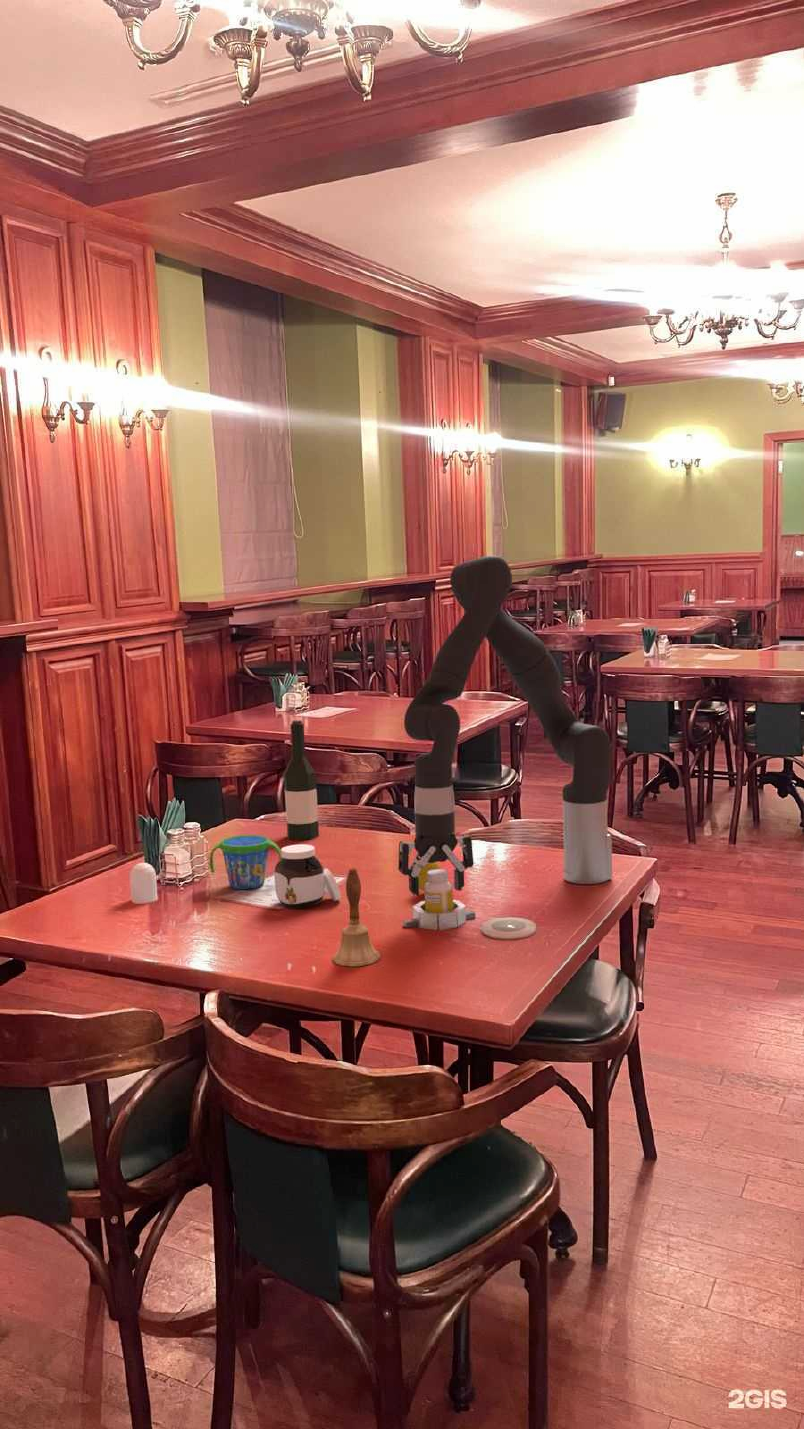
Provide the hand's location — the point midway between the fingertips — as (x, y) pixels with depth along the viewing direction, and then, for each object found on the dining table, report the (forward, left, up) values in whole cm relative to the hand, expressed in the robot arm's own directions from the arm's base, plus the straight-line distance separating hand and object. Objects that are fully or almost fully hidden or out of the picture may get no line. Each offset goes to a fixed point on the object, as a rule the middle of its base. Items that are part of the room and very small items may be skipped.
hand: (436, 892), depth 211 cm
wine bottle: (+9, -80, -6) cm, 81 cm away
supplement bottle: (0, 0, -6) cm, 6 cm away
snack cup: (+30, -41, -6) cm, 51 cm away
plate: (-10, +10, -6) cm, 16 cm away
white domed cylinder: (+52, -40, -6) cm, 66 cm away
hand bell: (+20, +13, -6) cm, 24 cm away
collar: (0, 0, -6) cm, 6 cm away
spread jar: (+20, -23, -6) cm, 31 cm away
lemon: (-4, -18, -6) cm, 19 cm away
